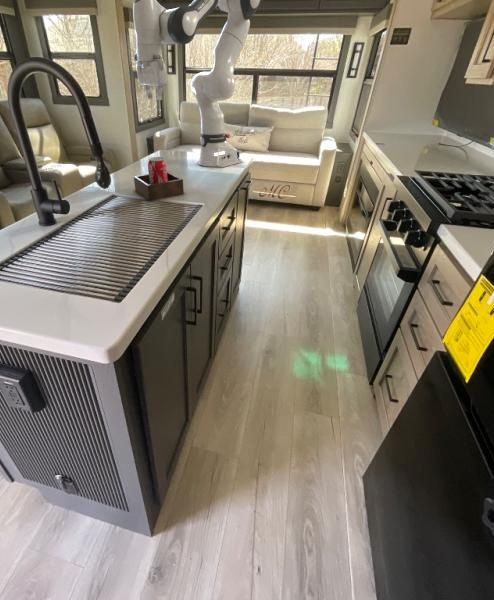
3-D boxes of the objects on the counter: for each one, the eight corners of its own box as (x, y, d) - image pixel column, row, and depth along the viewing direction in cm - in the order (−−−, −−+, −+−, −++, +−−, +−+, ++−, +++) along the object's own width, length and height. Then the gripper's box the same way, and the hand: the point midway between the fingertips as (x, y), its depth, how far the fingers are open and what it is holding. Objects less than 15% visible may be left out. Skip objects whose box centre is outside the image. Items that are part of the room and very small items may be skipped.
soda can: (147, 190, 131) (143, 158, 124) (161, 186, 135) (158, 155, 128) (157, 194, 127) (153, 161, 120) (171, 190, 131) (169, 158, 124)
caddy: (168, 184, 139) (166, 171, 136) (183, 193, 129) (182, 179, 126) (135, 190, 133) (133, 176, 130) (149, 200, 123) (147, 185, 120)
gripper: (169, 54, 114) (173, 100, 122) (147, 56, 129) (151, 97, 137) (153, 54, 112) (157, 101, 120) (132, 56, 126) (137, 98, 134)
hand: (154, 99), depth 128 cm, fingers open, 8 cm apart
